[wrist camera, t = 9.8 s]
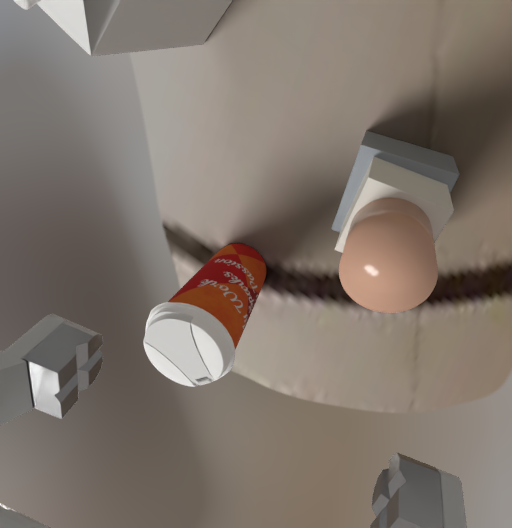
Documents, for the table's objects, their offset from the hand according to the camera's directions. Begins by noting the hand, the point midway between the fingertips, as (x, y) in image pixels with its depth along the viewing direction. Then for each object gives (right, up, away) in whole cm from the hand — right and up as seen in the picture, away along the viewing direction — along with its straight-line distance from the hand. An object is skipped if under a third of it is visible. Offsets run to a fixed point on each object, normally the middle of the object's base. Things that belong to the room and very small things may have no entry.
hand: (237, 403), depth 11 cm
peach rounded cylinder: (+9, +6, +16) cm, 20 cm away
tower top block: (+11, +8, +20) cm, 24 cm away
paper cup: (-1, +4, +33) cm, 33 cm away
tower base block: (+12, +10, +25) cm, 29 cm away
